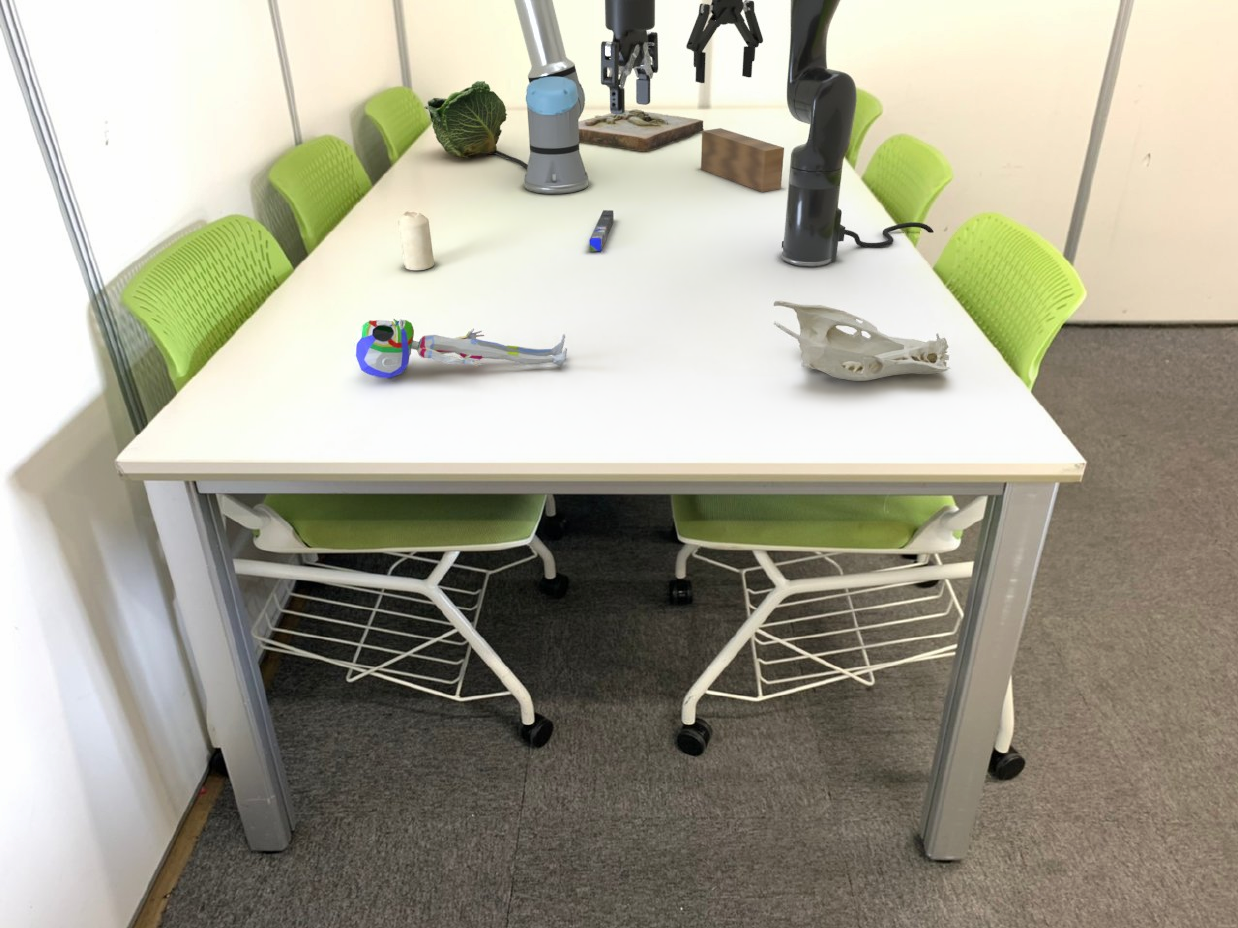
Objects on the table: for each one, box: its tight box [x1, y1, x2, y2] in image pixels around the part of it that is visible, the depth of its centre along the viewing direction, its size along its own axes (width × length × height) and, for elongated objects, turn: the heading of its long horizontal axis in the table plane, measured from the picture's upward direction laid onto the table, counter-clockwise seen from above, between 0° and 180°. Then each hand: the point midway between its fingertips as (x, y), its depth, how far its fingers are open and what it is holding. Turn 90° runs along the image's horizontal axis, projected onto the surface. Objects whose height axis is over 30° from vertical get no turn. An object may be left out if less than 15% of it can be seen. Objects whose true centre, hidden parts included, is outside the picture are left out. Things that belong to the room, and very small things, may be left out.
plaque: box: [578, 108, 705, 152], centre depth 257 cm, size 30×7×30 cm
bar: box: [700, 127, 785, 193], centre depth 216 cm, size 25×6×9 cm, turn 30°
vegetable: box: [424, 80, 508, 159], centre depth 237 cm, size 20×19×20 cm
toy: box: [353, 318, 568, 379], centre depth 130 cm, size 10×8×30 cm
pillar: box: [588, 209, 615, 252], centre depth 182 cm, size 2×2×20 cm
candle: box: [397, 211, 435, 271], centre depth 166 cm, size 6×6×10 cm
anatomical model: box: [773, 300, 952, 382], centre depth 127 cm, size 15×9×25 cm
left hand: (723, 79), depth 213 cm, fingers open, 13 cm apart
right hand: (630, 108), depth 142 cm, fingers open, 8 cm apart
